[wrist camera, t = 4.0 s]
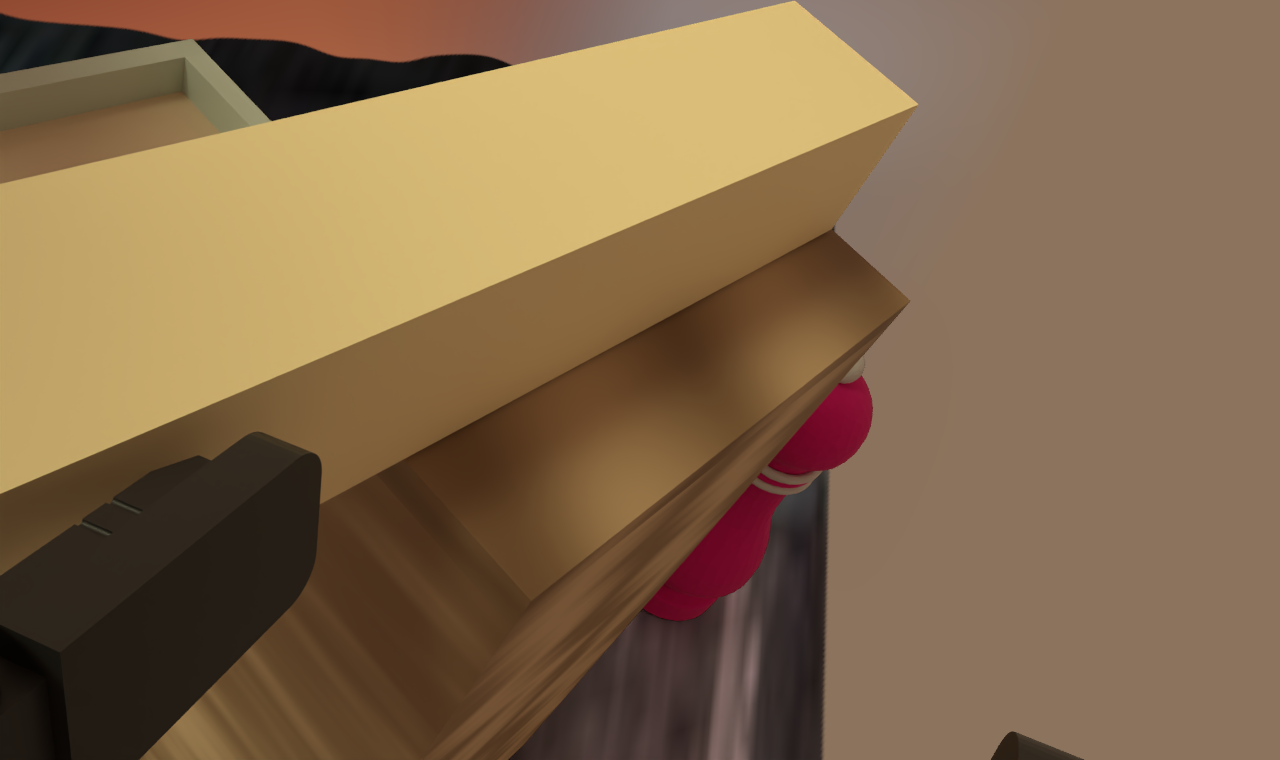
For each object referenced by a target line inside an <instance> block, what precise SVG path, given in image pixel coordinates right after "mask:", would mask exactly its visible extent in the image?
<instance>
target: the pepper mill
mask: <svg viewBox="0 0 1280 760" xmlns="http://www.w3.org/2000/svg"><path fill="white" fill-rule="evenodd" d="M864 367H865V359H864V356H862V357H861V358H860V359H859V361H858V362H857V363H856V364H855V365H854V366H853V368H852V369H851V370H850V371H849V372H848V373H847V374H846V376H845V377H844V378H843V379H842V380H841V381H840V382H839V384H838V385H837V386H836V387H835V388H834V389H833V390H832V392H831V393H830V394H829V395H828V396H827V397H826V399H825V400H824V401H823V402H822V403H821V404H820V405H819V407H818V408H817V409H816V410H815V411H814V412H813V413H812V415H811V416H810V417H809V418H808V419H807V420H806V421H805V423H804V424H803V425H802V426H801V427H800V428H799V429H798V431H797V432H796V433H795V434H794V435H793V436H792V438H791V439H790V440H789V441H788V442H787V443H786V444H785V446H784V447H783V448H782V449H781V450H780V451H779V452H778V454H777V455H776V456H775V457H774V458H773V459H772V460H771V462H770V463H769V464H768V465H767V466H766V467H765V469H764V470H763V471H762V472H761V473H760V474H759V475H758V477H757V478H756V479H755V480H754V481H753V482H752V483H751V485H750V486H749V487H748V488H747V489H746V490H745V491H744V493H743V494H742V495H741V496H740V497H739V498H738V499H737V501H736V502H735V503H734V504H733V505H732V506H731V508H730V509H729V510H728V511H727V512H726V513H725V514H724V516H723V517H722V518H721V519H720V520H719V521H718V522H717V524H716V525H715V526H714V527H713V528H712V529H711V530H710V532H709V533H708V534H707V535H706V536H705V537H704V539H703V540H702V541H701V542H700V543H699V544H698V545H697V547H696V548H695V549H694V550H693V551H692V552H691V553H690V555H689V556H688V557H687V558H686V559H685V560H684V561H683V563H682V564H681V565H680V566H679V567H678V568H677V569H676V571H675V572H674V573H673V574H672V575H671V576H670V578H669V579H668V580H667V581H666V582H665V583H664V584H663V586H662V587H661V588H660V589H659V590H658V591H657V592H656V594H655V595H654V596H653V597H652V598H651V599H650V600H649V602H648V603H647V604H646V605H645V606H644V607H643V609H644V610H646V611H647V612H649V613H651V614H653V615H655V616H658V617H660V618H663V619H668V620H673V621H683V620H689V619H693V618H695V617H697V616H699V615H701V614H702V613H704V612H705V611H706V610H707V609H708V608H709V607H710V606H711V605H712V604H713V603H714V602H715V601H716V600H717V599H718V598H719V597H722V596H726V595H728V594H731V593H733V592H735V591H736V590H738V589H739V588H741V587H742V586H743V585H745V583H746V582H747V581H748V580H749V579H750V578H751V576H752V575H753V574H754V572H755V571H756V570H757V568H758V567H759V565H760V563H761V561H762V559H763V556H764V554H765V551H766V548H767V545H768V540H769V534H770V526H771V518H772V515H773V513H774V511H775V509H776V507H777V506H778V505H779V503H780V502H781V501H782V499H783V498H784V497H785V496H786V495H789V494H795V493H799V492H801V491H803V490H805V489H806V488H807V487H808V486H809V485H810V484H811V483H812V481H813V480H814V479H815V478H817V477H818V476H819V475H820V473H821V472H822V471H824V470H828V469H833V468H835V467H837V466H839V465H841V464H842V463H844V462H846V461H847V460H848V459H849V458H850V457H852V456H853V455H854V454H855V453H856V452H857V450H858V449H859V448H860V446H861V445H862V443H863V442H864V440H865V439H866V437H867V435H868V432H869V429H870V427H871V421H872V412H873V407H872V398H871V395H870V392H869V388H868V386H867V384H866V382H865V380H864V379H863V377H862V375H861V374H862V373H863V371H864Z"/></svg>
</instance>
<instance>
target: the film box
mask: <svg viewBox="0 0 1280 760" xmlns="http://www.w3.org/2000/svg"><path fill="white" fill-rule="evenodd" d="M917 106H918V104H917V103H916V102H915V101H914V100H913V99H911V98H910V97H909V96H908V95H906V94H905V93H904V92H903V91H902V90H901V89H900V88H898V87H897V86H896V85H895V84H894V83H892V82H891V81H890V80H889V79H887V78H886V77H885V76H884V75H883V74H882V73H880V72H879V71H878V70H877V69H876V68H874V67H873V66H872V65H870V63H868V62H867V61H866V60H865V59H864V58H863V57H861V56H860V55H859V54H858V53H856V52H855V51H854V50H853V49H852V48H850V47H849V46H848V45H847V44H846V43H845V42H843V41H842V40H841V39H840V38H839V37H837V36H836V35H835V34H834V33H833V32H831V31H830V30H829V29H828V28H827V27H825V26H824V25H823V24H822V23H821V22H820V21H818V20H817V19H816V18H815V17H813V16H812V15H811V14H810V13H809V12H808V11H806V10H805V9H804V8H803V7H802V6H800V5H799V4H798V3H797V2H796V1H791V2H787V3H783V4H778V5H774V6H770V7H765V8H761V9H757V10H752V11H748V12H744V13H740V14H735V15H731V16H726V17H722V18H718V19H713V20H709V21H705V22H701V23H696V24H692V25H687V26H683V27H678V28H674V29H670V30H666V31H661V32H657V33H652V34H648V35H644V36H640V37H635V38H631V39H627V40H622V41H618V42H614V43H610V44H605V45H601V46H596V47H592V48H588V49H583V50H579V51H575V52H570V53H566V54H562V55H557V56H553V57H549V58H544V59H540V60H536V61H531V62H527V63H523V64H518V65H514V66H510V67H505V68H501V69H497V70H492V71H488V72H484V73H479V74H475V75H471V76H466V77H462V78H458V79H453V80H449V81H445V82H440V83H436V84H432V85H427V86H423V87H419V88H414V89H410V90H406V91H401V92H397V93H393V94H388V95H384V96H380V97H375V98H371V99H367V100H362V101H358V102H354V103H349V104H345V105H341V106H336V107H332V108H328V109H323V110H319V111H315V112H310V113H306V114H302V115H297V116H293V117H289V118H284V119H280V120H276V121H271V122H267V123H263V124H258V125H254V126H250V127H245V128H241V129H237V130H232V131H228V132H224V133H219V134H215V135H211V136H206V137H202V138H198V139H193V140H189V141H185V142H180V143H176V144H172V145H167V146H163V147H159V148H154V149H150V150H146V151H141V152H137V153H133V154H128V155H124V156H120V157H115V158H111V159H107V160H102V161H98V162H94V163H89V164H85V165H81V166H76V167H72V168H68V169H63V170H59V171H55V172H50V173H46V174H42V175H37V176H33V177H29V178H24V179H20V180H16V181H11V182H7V183H3V184H0V575H2V574H3V573H5V572H6V571H8V570H9V569H11V568H12V567H13V566H15V565H16V564H18V563H19V562H21V561H22V560H24V559H25V558H26V557H28V556H29V555H31V554H32V553H34V552H35V551H36V550H38V549H39V548H41V547H42V546H44V545H45V544H47V543H48V542H49V541H51V540H52V539H54V538H55V537H57V536H58V535H60V534H61V533H62V532H64V531H65V530H67V529H68V528H70V527H71V526H73V525H74V524H75V525H77V526H78V525H80V524H81V522H82V519H83V518H84V517H86V516H87V515H88V514H90V513H91V512H93V511H94V510H96V509H97V508H99V507H100V506H101V505H103V504H104V503H108V504H110V503H111V502H112V500H113V497H114V496H116V495H117V494H119V493H120V492H122V491H123V490H125V489H126V488H127V487H129V486H130V485H132V484H133V483H135V482H136V481H138V480H139V479H140V478H142V477H143V476H145V475H146V474H148V473H149V472H150V471H153V470H156V469H159V468H162V467H165V466H168V465H171V464H174V463H177V462H180V461H183V460H186V459H188V458H191V457H194V456H197V455H199V456H202V457H204V458H207V459H209V460H213V459H214V458H215V457H217V456H218V455H220V454H221V453H222V452H224V451H225V450H226V449H228V448H229V447H231V446H232V445H233V444H235V443H236V442H237V441H239V440H240V439H241V438H243V437H244V436H246V435H248V434H250V433H252V432H257V431H258V432H263V433H265V434H268V435H270V436H273V437H275V438H278V439H280V440H283V441H285V442H288V443H290V444H293V445H295V446H298V447H300V448H303V449H305V450H308V451H310V452H313V453H315V454H317V455H318V456H319V458H320V460H321V464H322V478H321V493H320V504H322V503H323V502H325V501H327V500H329V499H331V498H333V497H335V496H336V495H338V494H340V493H342V492H344V491H346V490H348V489H350V488H351V487H353V486H355V485H357V484H359V483H361V482H363V481H364V480H366V479H368V478H370V477H372V476H374V475H376V474H377V473H379V472H381V471H383V470H385V469H387V468H389V467H390V466H392V465H394V464H396V463H398V462H400V461H402V460H403V459H405V458H407V457H409V456H411V455H413V454H415V453H416V452H418V451H420V450H422V449H424V448H426V447H428V446H429V445H431V444H433V443H435V442H437V441H439V440H441V439H442V438H444V437H446V436H448V435H450V434H452V433H454V432H456V431H457V430H459V429H461V428H463V427H465V426H467V425H469V424H470V423H472V422H474V421H476V420H478V419H480V418H482V417H483V416H485V415H487V414H489V413H491V412H493V411H495V410H496V409H498V408H500V407H502V406H504V405H506V404H508V403H509V402H511V401H513V400H515V399H517V398H519V397H521V396H522V395H524V394H526V393H528V392H530V391H532V390H534V389H535V388H537V387H539V386H541V385H543V384H545V383H547V382H549V381H550V380H552V379H554V378H556V377H558V376H560V375H562V374H563V373H565V372H567V371H569V370H571V369H573V368H575V367H576V366H578V365H580V364H582V363H584V362H586V361H588V360H589V359H591V358H593V357H595V356H597V355H599V354H601V353H602V352H604V351H606V350H608V349H610V348H612V347H614V346H615V345H617V344H619V343H621V342H623V341H625V340H627V339H628V338H630V337H632V336H634V335H636V334H638V333H640V332H641V331H643V330H645V329H647V328H649V327H651V326H653V325H655V324H656V323H658V322H660V321H662V320H664V319H666V318H668V317H669V316H671V315H673V314H675V313H677V312H679V311H681V310H682V309H684V308H686V307H688V306H690V305H692V304H694V303H695V302H697V301H699V300H701V299H703V298H705V297H707V296H708V295H710V294H712V293H714V292H716V291H718V290H720V289H721V288H723V287H725V286H727V285H729V284H731V283H733V282H734V281H736V280H738V279H740V278H742V277H744V276H746V275H748V274H749V273H751V272H753V271H755V270H757V269H759V268H761V267H762V266H764V265H766V264H768V263H770V262H772V261H774V260H775V259H777V258H779V257H781V256H783V255H785V254H787V253H788V252H790V251H792V250H794V249H796V248H798V247H800V246H801V245H803V244H805V243H807V242H809V241H811V240H813V239H814V238H816V237H818V236H820V235H822V234H824V233H826V232H827V231H829V230H831V229H832V228H833V226H834V225H835V224H836V222H837V221H838V219H839V218H840V216H841V215H842V214H843V212H844V211H845V209H846V208H847V206H848V205H849V204H850V202H851V200H852V199H853V198H854V196H855V195H856V193H857V192H858V191H859V189H860V188H861V186H862V185H863V183H864V182H865V181H866V179H867V178H868V176H869V175H870V173H871V172H872V170H873V169H874V168H875V166H876V165H877V163H878V162H879V161H880V159H881V158H882V156H883V155H884V153H885V152H886V150H887V149H888V148H889V146H890V145H891V143H892V142H893V140H894V139H895V138H896V136H897V135H898V133H899V132H900V130H901V129H902V127H903V126H904V125H905V123H906V122H907V120H908V119H909V117H910V116H911V115H912V113H913V112H914V110H915V109H916V108H917Z"/></svg>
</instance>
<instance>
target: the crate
mask: <svg viewBox="0 0 1280 760" xmlns="http://www.w3.org/2000/svg"><path fill="white" fill-rule="evenodd" d="M267 122H271V121H270V120H269V119H268V118H267V117H266V116H265V115H264V114H263V112H262V111H261V110H260V109H259V108H258V107H257V106H256V105H255V104H254V103H253V102H252V101H251V100H250V99H249V98H248V97H247V96H246V95H245V94H244V93H243V91H242V90H241V89H240V88H239V87H238V86H237V85H236V84H235V83H234V82H233V81H232V80H231V79H230V78H229V77H228V76H227V75H226V74H225V73H224V72H223V71H222V69H221V68H220V67H219V66H218V65H217V64H216V63H215V62H214V61H213V60H212V59H211V58H210V57H209V56H208V55H207V54H206V53H205V52H204V51H203V50H202V49H201V47H200V46H199V45H198V44H197V43H196V42H195V41H194V40H193V39H189V40H184V41H178V42H173V43H168V44H162V45H157V46H151V47H146V48H140V49H135V50H129V51H124V52H119V53H113V54H108V55H102V56H97V57H91V58H86V59H81V60H75V61H70V62H64V63H59V64H53V65H48V66H43V67H37V68H32V69H26V70H21V71H15V72H10V73H5V74H0V184H3V183H7V182H11V181H16V180H20V179H24V178H29V177H33V176H37V175H42V174H46V173H50V172H55V171H59V170H63V169H68V168H72V167H76V166H81V165H85V164H89V163H94V162H98V161H102V160H107V159H111V158H115V157H120V156H124V155H128V154H133V153H137V152H141V151H146V150H150V149H154V148H159V147H163V146H167V145H172V144H176V143H180V142H185V141H189V140H193V139H198V138H202V137H206V136H211V135H215V134H219V133H224V132H228V131H232V130H237V129H241V128H245V127H250V126H254V125H258V124H263V123H267Z"/></svg>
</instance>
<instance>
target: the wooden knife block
mask: <svg viewBox="0 0 1280 760" xmlns="http://www.w3.org/2000/svg"><path fill="white" fill-rule="evenodd" d="M909 302H910V300H909V299H908V298H907V297H905V296H904V295H903V294H902V293H901V292H900V291H899V290H898V289H897V288H896V287H895V286H893V285H892V284H891V283H890V282H889V281H888V280H887V279H886V278H885V277H884V276H882V275H881V274H880V273H879V272H878V271H877V270H876V269H875V268H873V266H871V265H870V264H869V263H868V262H867V261H866V260H865V259H864V258H863V257H861V256H860V255H859V254H858V253H857V252H856V251H855V250H854V249H853V248H852V247H850V246H849V245H848V244H847V243H846V242H845V241H844V240H843V239H842V238H841V237H840V236H838V235H837V234H836V233H835V232H834V231H833V230H832V229H831V230H829V231H827V232H826V233H824V234H822V235H820V236H818V237H816V238H814V239H813V240H811V241H809V242H807V243H805V244H803V245H801V246H800V247H798V248H796V249H794V250H792V251H790V252H788V253H787V254H785V255H783V256H781V257H779V258H777V259H775V260H774V261H772V262H770V263H768V264H766V265H764V266H762V267H761V268H759V269H757V270H755V271H753V272H751V273H749V274H748V275H746V276H744V277H742V278H740V279H738V280H736V281H734V282H733V283H731V284H729V285H727V286H725V287H723V288H721V289H720V290H718V291H716V292H714V293H712V294H710V295H708V296H707V297H705V298H703V299H701V300H699V301H697V302H695V303H694V304H692V305H690V306H688V307H686V308H684V309H682V310H681V311H679V312H677V313H675V314H673V315H671V316H669V317H668V318H666V319H664V320H662V321H660V322H658V323H656V324H655V325H653V326H651V327H649V328H647V329H645V330H643V331H641V332H640V333H638V334H636V335H634V336H632V337H630V338H628V339H627V340H625V341H623V342H621V343H619V344H617V345H615V346H614V347H612V348H610V349H608V350H606V351H604V352H602V353H601V354H599V355H597V356H595V357H593V358H591V359H589V360H588V361H586V362H584V363H582V364H580V365H578V366H576V367H575V368H573V369H571V370H569V371H567V372H565V373H563V374H562V375H560V376H558V377H556V378H554V379H552V380H550V381H549V382H547V383H545V384H543V385H541V386H539V387H537V388H535V389H534V390H532V391H530V392H528V393H526V394H524V395H522V396H521V397H519V398H517V399H515V400H513V401H511V402H509V403H508V404H506V405H504V406H502V407H500V408H498V409H496V410H495V411H493V412H491V413H489V414H487V415H485V416H483V417H482V418H480V419H478V420H476V421H474V422H472V423H470V424H469V425H467V426H465V427H463V428H461V429H459V430H457V431H456V432H454V433H452V434H450V435H448V436H446V437H444V438H442V439H441V440H439V441H437V442H435V443H433V444H431V445H429V446H428V447H426V448H424V449H422V450H420V451H418V452H416V453H415V454H413V455H411V456H409V457H407V458H405V459H403V460H402V461H400V462H398V463H396V464H394V465H392V466H390V467H389V468H387V469H385V470H383V471H381V472H379V473H377V474H376V475H374V476H372V477H370V478H368V479H366V480H364V481H363V482H361V483H359V484H357V485H355V486H353V487H351V488H350V489H348V490H346V491H344V492H342V493H340V494H338V495H336V496H335V497H333V498H331V499H329V500H327V501H325V502H323V503H322V504H320V509H319V524H318V539H317V553H316V559H315V564H314V567H313V570H312V573H311V575H310V578H309V580H308V582H307V584H306V586H305V588H304V589H303V591H302V593H301V594H300V596H299V597H298V599H297V600H296V601H295V602H294V604H293V605H292V606H291V607H290V608H289V609H288V610H287V611H286V612H285V613H284V614H283V615H282V616H281V617H280V618H279V619H278V620H277V621H276V622H275V623H274V624H273V625H272V626H271V627H270V628H269V629H268V630H267V631H266V632H265V633H264V634H263V635H262V636H261V637H260V638H259V639H258V640H257V641H256V642H255V643H254V644H253V645H252V646H251V647H250V648H249V649H248V650H247V651H246V652H245V653H244V654H243V655H242V657H241V658H240V659H239V660H238V661H237V662H236V663H235V664H234V665H233V666H232V667H231V668H230V669H229V670H228V671H227V672H226V673H225V674H224V675H223V676H222V677H221V678H220V679H219V680H218V681H217V682H216V683H215V684H214V685H213V686H212V687H211V688H210V689H209V690H208V691H207V692H206V693H205V694H204V695H203V696H202V697H201V698H200V699H199V700H198V701H197V702H196V703H195V704H194V705H193V706H192V707H191V708H190V709H189V710H188V711H187V712H186V713H185V714H184V715H183V716H182V717H181V718H180V719H179V720H178V721H177V722H176V723H175V724H174V725H173V726H172V727H171V728H170V729H169V730H168V731H167V732H166V733H165V734H164V735H163V736H162V737H161V738H160V739H159V740H158V741H157V742H156V743H155V744H154V745H153V746H152V747H151V748H150V749H149V750H148V751H147V752H146V753H145V754H144V755H143V756H142V757H141V759H140V760H508V759H509V758H510V757H511V756H512V755H513V754H515V753H516V752H517V751H518V750H519V749H520V748H521V747H522V746H523V745H524V744H525V743H526V742H527V740H528V739H529V738H530V737H531V736H532V735H533V734H534V732H535V731H536V730H537V729H538V728H539V727H540V726H541V724H542V723H543V722H544V721H545V720H546V719H547V718H548V716H549V715H550V714H551V713H552V712H553V711H554V709H555V708H556V707H557V706H558V705H559V704H560V703H561V701H562V700H563V699H564V698H565V697H566V696H567V695H568V693H569V692H570V691H571V690H572V689H573V688H574V687H575V685H576V684H577V683H578V682H579V681H580V680H581V678H582V677H583V676H584V675H585V674H586V673H587V672H588V670H589V669H590V668H591V667H592V666H593V665H594V664H595V662H596V661H597V660H598V659H599V658H600V657H601V656H602V654H603V653H604V652H605V651H606V650H607V649H608V648H609V646H610V645H611V644H612V643H613V642H614V641H615V639H616V638H617V637H618V636H619V635H620V634H621V633H622V631H623V630H624V629H625V628H626V627H627V626H628V625H629V623H630V622H631V621H632V620H633V619H634V618H635V617H636V615H637V614H638V613H639V612H640V611H641V610H642V608H643V607H644V606H645V605H646V604H647V603H648V602H649V600H650V599H651V598H652V597H653V596H654V595H655V594H656V592H657V591H658V590H659V589H660V588H661V587H662V586H663V584H664V583H665V582H666V581H667V580H668V579H669V578H670V576H671V575H672V574H673V573H674V572H675V571H676V569H677V568H678V567H679V566H680V565H681V564H682V563H683V561H684V560H685V559H686V558H687V557H688V556H689V555H690V553H691V552H692V551H693V550H694V549H695V548H696V547H697V545H698V544H699V543H700V542H701V541H702V540H703V539H704V537H705V536H706V535H707V534H708V533H709V532H710V530H711V529H712V528H713V527H714V526H715V525H716V524H717V522H718V521H719V520H720V519H721V518H722V517H723V516H724V514H725V513H726V512H727V511H728V510H729V509H730V508H731V506H732V505H733V504H734V503H735V502H736V501H737V499H738V498H739V497H740V496H741V495H742V494H743V493H744V491H745V490H746V489H747V488H748V487H749V486H750V485H751V483H752V482H753V481H754V480H755V479H756V478H757V477H758V475H759V474H760V473H761V472H762V471H763V470H764V469H765V467H766V466H767V465H768V464H769V463H770V462H771V460H772V459H773V458H774V457H775V456H776V455H777V454H778V452H779V451H780V450H781V449H782V448H783V447H784V446H785V444H786V443H787V442H788V441H789V440H790V439H791V438H792V436H793V435H794V434H795V433H796V432H797V431H798V429H799V428H800V427H801V426H802V425H803V424H804V423H805V421H806V420H807V419H808V418H809V417H810V416H811V415H812V413H813V412H814V411H815V410H816V409H817V408H818V407H819V405H820V404H821V403H822V402H823V401H824V400H825V399H826V397H827V396H828V395H829V394H830V393H831V392H832V390H833V389H834V388H835V387H836V386H837V385H838V384H839V382H840V381H841V380H842V379H843V378H844V377H845V376H846V374H847V373H848V372H849V371H850V370H851V369H852V368H853V366H854V365H855V364H856V363H857V362H858V361H859V359H860V358H861V357H862V356H863V355H864V354H865V352H866V351H867V350H868V349H869V348H870V347H871V346H872V345H873V343H874V342H875V341H876V340H877V339H878V338H879V336H880V335H881V334H882V333H883V332H884V330H886V328H887V327H888V326H889V325H890V324H891V323H892V321H893V320H894V319H895V318H896V317H897V316H898V315H899V314H900V312H901V311H902V310H903V309H904V308H905V307H906V305H907V304H908V303H909Z"/></svg>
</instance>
